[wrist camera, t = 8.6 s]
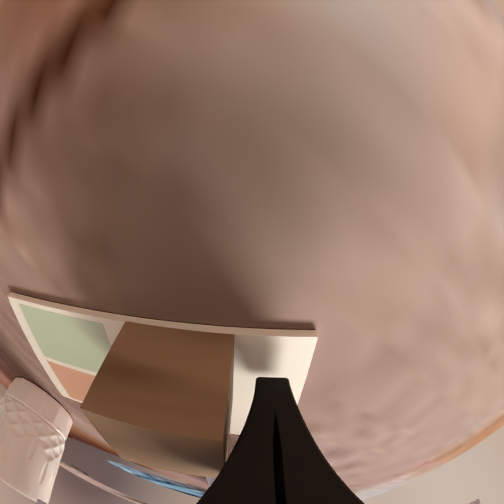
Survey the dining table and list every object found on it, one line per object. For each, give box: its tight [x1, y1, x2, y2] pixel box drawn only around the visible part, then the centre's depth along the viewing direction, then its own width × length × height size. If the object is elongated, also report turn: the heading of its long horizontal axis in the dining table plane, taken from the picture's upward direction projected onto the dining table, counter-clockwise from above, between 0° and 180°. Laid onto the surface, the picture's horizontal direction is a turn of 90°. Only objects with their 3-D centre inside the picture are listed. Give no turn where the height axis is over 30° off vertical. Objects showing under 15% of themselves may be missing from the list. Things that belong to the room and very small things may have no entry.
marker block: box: [80, 321, 235, 478], centre depth 9 cm, size 4×4×4 cm
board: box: [8, 292, 318, 435], centre depth 12 cm, size 9×16×1 cm, turn 87°
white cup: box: [0, 377, 73, 504], centre depth 12 cm, size 8×8×10 cm
